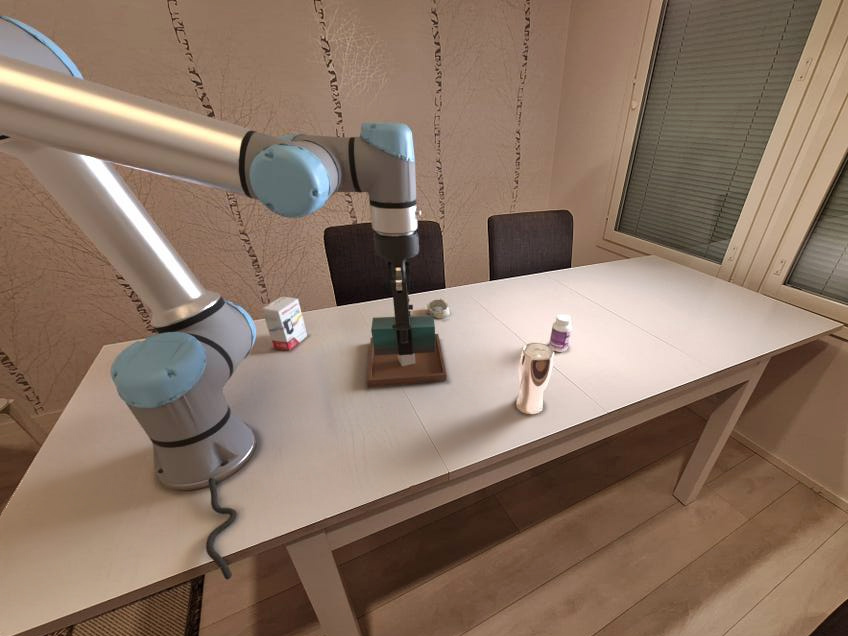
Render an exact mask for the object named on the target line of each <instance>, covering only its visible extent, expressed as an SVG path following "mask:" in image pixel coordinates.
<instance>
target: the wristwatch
mask: <svg viewBox="0 0 848 636" xmlns="http://www.w3.org/2000/svg"><path fill="white" fill-rule="evenodd" d="M426 307H427V310H428V313H429V315H433V316H434V318H437V319H444V318H447V317H448V316H450V314H451V311H450V308H449V304H448V302H447V300H445V299H443V298H439V299H433V300H431V301H430V302H428V304H427V305H426ZM436 308H441V309H442V310H441V311H435V310H434V309H436Z"/></svg>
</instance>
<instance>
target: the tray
mask: <svg viewBox="0 0 848 636" xmlns="http://www.w3.org/2000/svg"><path fill="white" fill-rule="evenodd" d="M369 340H370V341H369V351H368V352H369V353H368V366H367V376H366V383H367V387H368V388H374V387H385V386H397V385H411V384H421V383H423V384H424V383H433V382H434V383H435V382H445V381H446V382H447V381H448V380H447V377H448V375H447V374H448V373H447V370H446V369H447V368H446V365H445V364H446V363H445V359H444V355H443V349H442V345H441V340H440V336H439V333H435V344H436V352H433V353H415V364H411V365H407V366H403V367H402V365H401V364H400V362H399V360H398V354H397V355H379V356H375V353H374V346H373V339H372V337H370V339H369Z"/></svg>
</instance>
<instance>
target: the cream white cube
mask: <svg viewBox="0 0 848 636" xmlns="http://www.w3.org/2000/svg"><path fill="white" fill-rule="evenodd" d="M398 360H399V362H400V364H401V365H402V367H403V366H407V365H411V364H415V354H413V355H399V354H398Z"/></svg>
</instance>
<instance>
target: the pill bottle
mask: <svg viewBox="0 0 848 636" xmlns="http://www.w3.org/2000/svg"><path fill="white" fill-rule="evenodd" d="M571 322H572V317H571V316H570V315H567V314H557V316H556V318H555V322H553V324H552V326H551V332H550V337H549V343H548V346H549V347H551V348H552V349H553V351H554V352H557V353H558V352H559V353H562V352H566V351H567V350H568V348H569V344H570V339H571V335H572V334H571V333H572V329H573V327H572V324H571Z"/></svg>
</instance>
